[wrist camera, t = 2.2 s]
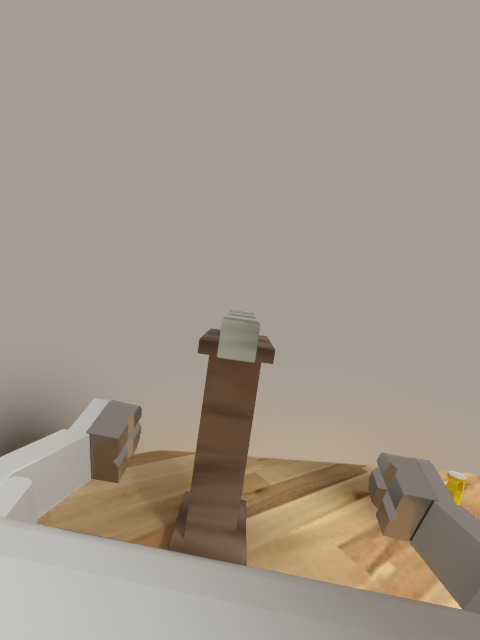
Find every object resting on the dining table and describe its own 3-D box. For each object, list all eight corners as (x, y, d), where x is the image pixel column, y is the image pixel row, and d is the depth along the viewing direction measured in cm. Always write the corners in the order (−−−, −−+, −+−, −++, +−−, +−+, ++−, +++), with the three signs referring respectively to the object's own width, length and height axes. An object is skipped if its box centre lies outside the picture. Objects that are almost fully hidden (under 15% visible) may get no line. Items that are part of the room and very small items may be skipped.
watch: (455, 518, 53) (461, 485, 53) (436, 508, 55) (442, 476, 55) (465, 504, 57) (471, 473, 56) (448, 496, 59) (453, 465, 59)
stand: (244, 581, 35) (279, 350, 33) (163, 570, 35) (194, 338, 33) (244, 510, 47) (270, 336, 45) (183, 501, 47) (207, 327, 45)
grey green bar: (227, 331, 45) (230, 310, 45) (250, 334, 45) (253, 313, 45) (215, 357, 25) (220, 319, 25) (256, 363, 25) (261, 325, 25)
